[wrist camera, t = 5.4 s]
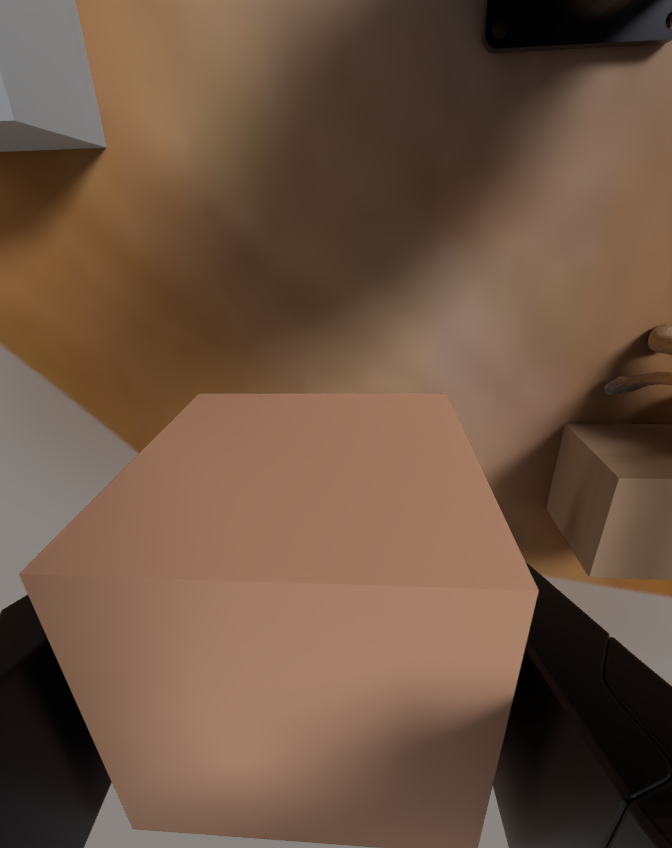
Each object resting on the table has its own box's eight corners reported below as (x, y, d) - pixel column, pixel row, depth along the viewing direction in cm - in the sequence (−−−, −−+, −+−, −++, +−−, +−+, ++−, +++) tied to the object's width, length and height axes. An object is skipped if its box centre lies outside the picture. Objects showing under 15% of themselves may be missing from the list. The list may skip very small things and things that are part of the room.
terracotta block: (446, 393, 8) (538, 589, 4) (428, 583, 10) (476, 854, 6) (199, 393, 9) (19, 573, 4) (230, 577, 11) (132, 829, 6)
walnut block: (672, 423, 20) (759, 480, 16) (643, 509, 22) (712, 581, 18) (564, 422, 21) (619, 478, 16) (545, 507, 23) (589, 577, 18)
